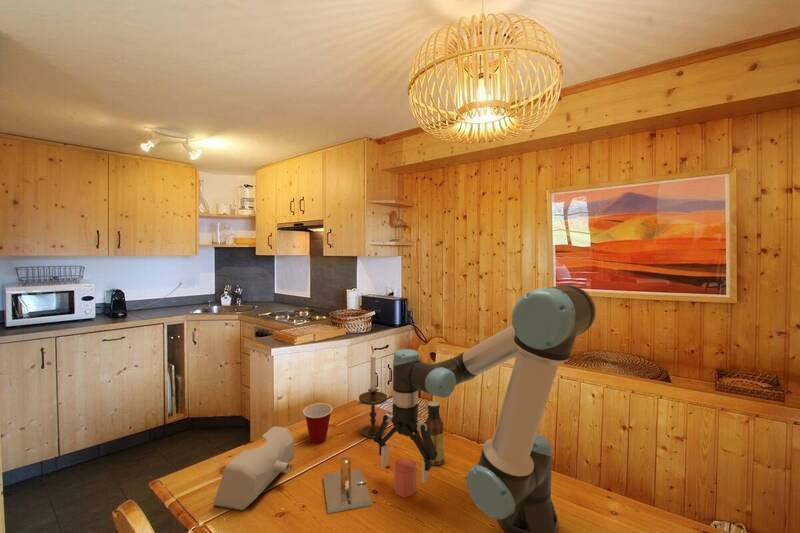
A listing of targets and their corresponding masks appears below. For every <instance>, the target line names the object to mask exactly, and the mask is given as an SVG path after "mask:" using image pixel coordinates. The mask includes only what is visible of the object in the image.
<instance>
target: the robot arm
mask: <svg viewBox="0 0 800 533" xmlns="http://www.w3.org/2000/svg"><path fill="white" fill-rule="evenodd" d="M596 315H597V310H596V305H595V302H594V300H593V298H592V297H591V296H590V294H589V293H587V291H585V289H582V288H580V287H578V286H575V285H570V284H563V285H557V286H550V287H549V286H547V287H546V286H544V287H538V288H535V289H533V290H531V291H529V292H528V291H527V293H525V294H523V295H522V296H521V297H520V298H519V299H518V300H517V301H516V303H515V304H514V307H513V309H512V312H511V325H509V326H507V327H506V328H504V329H502V330H501V331H499V332H496V333H495V334H493V335H491V336H490V337H488V338H486V339H485V340H483V341H481V342H478V344H475V345H474V346H471V347H470V348H469V349H467V350H465V351H463V352H462V353H459V354H458V355H455V356H454V357H452V358H449V359H445V360H443V361H438V362H436V363H427V362H424V361H421V358H420V353H419V352H418V351H417V350H416V349H415V350H414V349H410V348H406V349H405V348H404V349H402V348H401V349H398V350H396V351H394V354H393V363H392V412H387V413H385V414H384V415H383V417H382V422H381V425H380V428H379V430H378V432H377V434H376V436H375V438H374V439H373V442H374V443H377V444H378V447H379V448H378V450H379V451H378V455H379V456H381V457H380V460H381V461H380V469H384V468H385V467H386V466H388V464H389V443H387V441H389V440H390V438H391V437H392V436H393V435H394V434H396V432H397V433H398V435H403V436H405V437H409V438H410V440H412V441H413V442H414V445H415V446H416V447H417V449H418V450H419V452H420V454H421V456H422V457H423V458H422V460H421V483H423V484H424V483H426V481H427V480H429V471H430V470H431V468H432V465H431V460H432V461H433V460H434V459H435V458H436V457H437V456H438V454H437V451H436V449H435V446H434V444H433V441H432V439H431V436H430V434H429V431H428V424H427V423H426V421H425V422H424V423H421V422H419V420H418V417H419V404H418V402H419V391H422V392H425V393H427V394H428V395H431V396H434V397H439V398H442V399H446V398H449V397H450V396H451V394H452V393H453V392H454V391H455V388H456V386H457V385H460V384H462V383H465V382H468V381H471V380H473V379H474V378H475V377H477V376H479V375H481V374H483V373H485V372H487V371H489V370H491V369H493V368H496V367H497V366H499V365H501V364H503V363H505V362H507V361H509V360H512V359H513V358H515V361H514V363H513V367H512V371H511V374H510V378H509V381H508V384H507V388H506V392H505V395H504V399H503V402H502V405H501V408H500V412H499V415H498V420H497V422H496V425H495V429H494V432H493V435H492V438H489V439H487V440H486V441H485V442H484V444H483V446H482V450H481V453H480V457H479V460H478V463H476V465H473V466H472V467H471V468H470V469H469V470H468V472H467V475H466V479H465V480H466V482H465V483H466V488H467V491H468V493H469V495H470V497H471V501H473V503H474V504H475V505H476V507H477V508H478V509H479V510H480V511H481V512H482V513H483V514H484V515H486V516H488V517H489V518H492V519H495V520H497V522H498V524H499V526H501V528H502V529H503V530H504V531H505V532H506V533H558V527H559V525H558V524H559V523H558V522H559V520H558V515H557V512H556V510H555V506H554V503H553V500H552V496H551V495H552V467H553V466H552V464H553V461H552V460H553V452H552V443H551V441H550V440H549V439H548V438H547V437H546V436H544V435H543V434H541V433H539V432H538V431H539V428H540V425H541V421H542V419H543V417H544V416H543V415H544V412H545V410H546V406H547V403H548V400H549V396H550V393H551V391H552V387H553V385H554V384H553V383H554V380H555V378H556V374H557V371H558V369H559V368H558V367H559V365H560V364H562V363H565V362H568V361H569V360H570V357H571V354H572V350H573V349H574V345H575V343H576V342H575V341H576V339H577V337H578V336H581V335H582V334H584V333H586V332H587V331H588V330H589V329H590V328H591V327H592V325H593V324H594V322H595V319H596ZM391 413H392V415H391ZM390 422H391V423H392V424H393V428H391V429H390V430H389V432H388V433H387V434H385V435H383V433H384V431H386V430H387V428H388V426H389V424H390ZM420 434H421V435H420ZM382 435H383V436H382Z"/></svg>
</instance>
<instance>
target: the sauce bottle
mask: <svg viewBox="0 0 800 533" xmlns="http://www.w3.org/2000/svg"><path fill="white" fill-rule="evenodd" d="M440 406H441V404H440V402H438V401H429V402H427V410H428V413H427V415H428V416H427V418H426V420H425V422H426V423H427V424H428V431H429V434H430V436H431V439H432V441H433V444H434V446H435V449H436V451H437V454H438V456H437V457H436V458H435V459H434V460H433V461H432V460H431V466H441V465H443V464H444V463H445V435H444V434H445V433H444V432H445V431H444V422H443V420H442V418H441V416H440V415H441V414H440Z"/></svg>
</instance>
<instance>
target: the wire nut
mask: <svg viewBox="0 0 800 533" xmlns="http://www.w3.org/2000/svg"><path fill="white" fill-rule="evenodd" d="M393 490H394V493H395V495H397V496H399V497H402V498H407V497H413V496H414V494H415V493H416V492H417V464H416V461H415V460H414V459H412V458H409V457H401V458H398V459H397V460H395V462H394V466H393Z"/></svg>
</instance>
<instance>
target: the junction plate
mask: <svg viewBox="0 0 800 533" xmlns="http://www.w3.org/2000/svg"><path fill="white" fill-rule="evenodd" d="M322 480H323V481H322V482H323V489H324V495H325V502H326V503H325V504H326V509H327V510H326V511H327V514H332V513H338V512H342V511H343V512H344V511H348V510H349V511H350V510H353V509H360V508H364V507H371V506H372V498H371V495H370V492H369V491H370V490H369V488H368V485H367V483H368V481H367V480H366V479H365V476H364V472H363V469H362V468H357V469H355V468H354V469H352V458H351V457H349V456H348V457H347V456H345V457H342V458H341V459H340V471H336V472H329V473H324V474H323V475H322Z"/></svg>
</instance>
